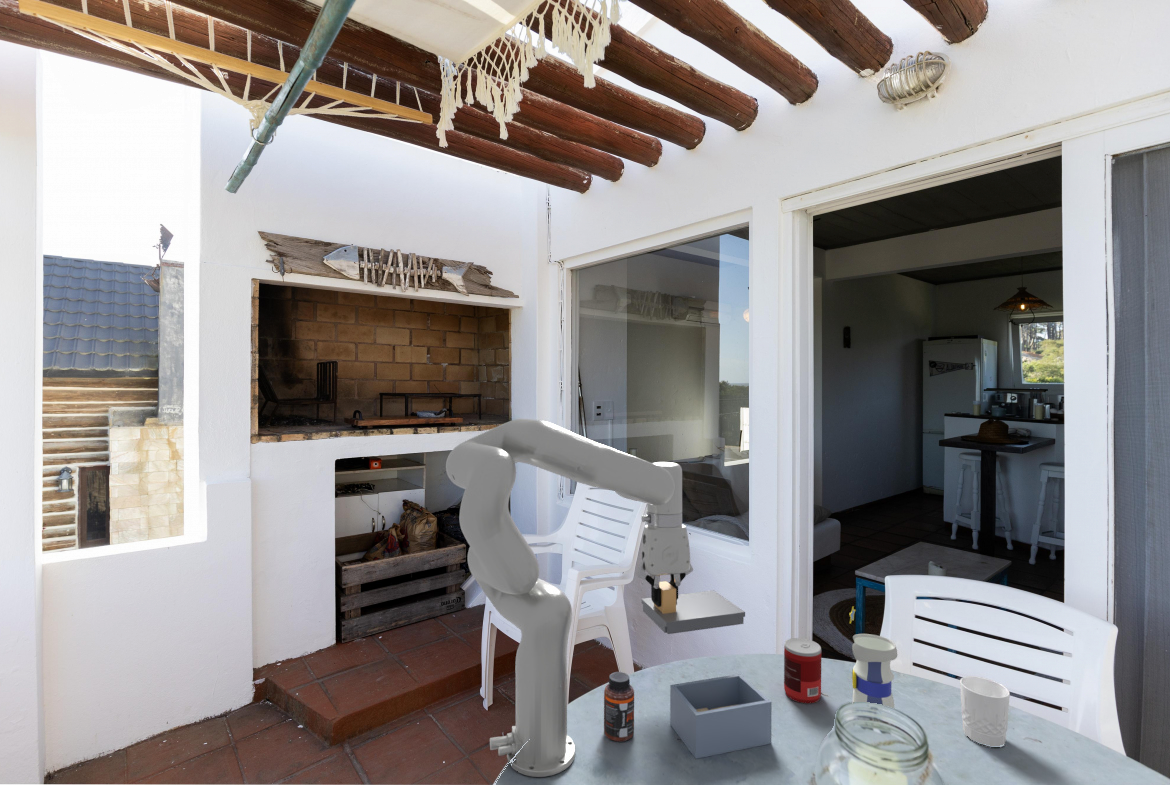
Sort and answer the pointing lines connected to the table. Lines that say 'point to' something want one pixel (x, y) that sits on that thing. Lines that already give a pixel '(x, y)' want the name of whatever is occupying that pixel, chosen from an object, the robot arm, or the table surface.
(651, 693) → the table surface
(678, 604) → the lid
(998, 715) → the white cup
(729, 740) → the tub
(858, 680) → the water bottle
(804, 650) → the canned food
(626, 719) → the supplement bottle
